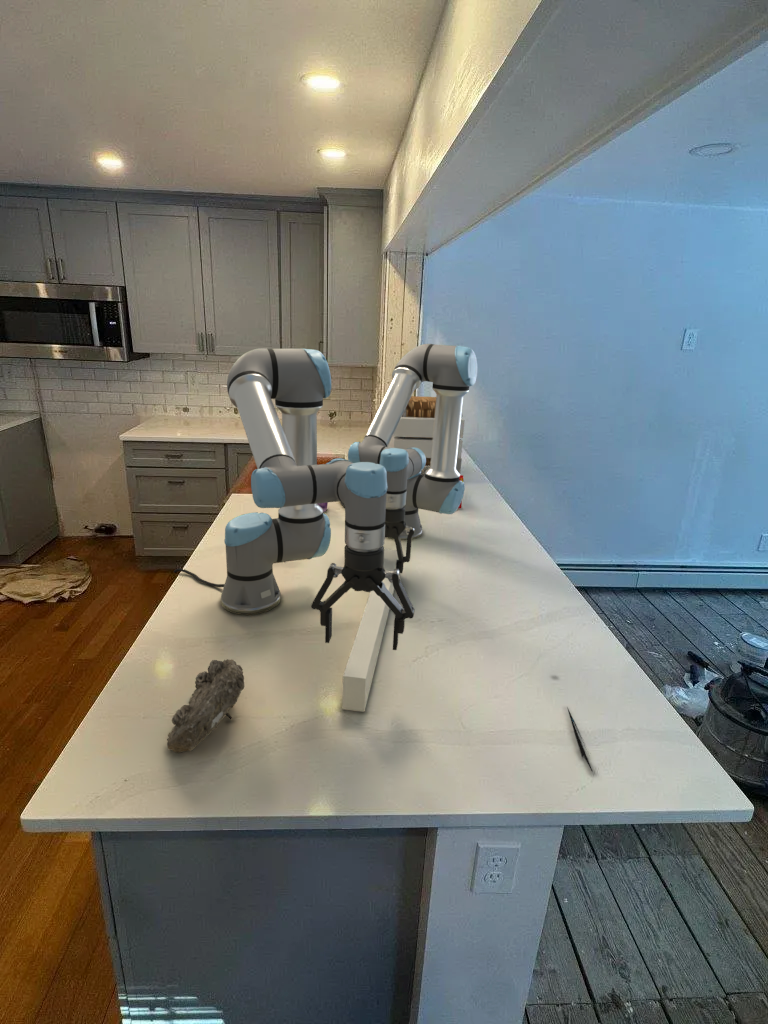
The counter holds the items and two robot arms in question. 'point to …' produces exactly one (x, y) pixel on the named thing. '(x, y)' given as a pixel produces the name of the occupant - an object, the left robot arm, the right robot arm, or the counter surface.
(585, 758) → the feather
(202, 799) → the counter surface
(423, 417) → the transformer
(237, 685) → the fossil
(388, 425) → the right robot arm
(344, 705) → the beam
